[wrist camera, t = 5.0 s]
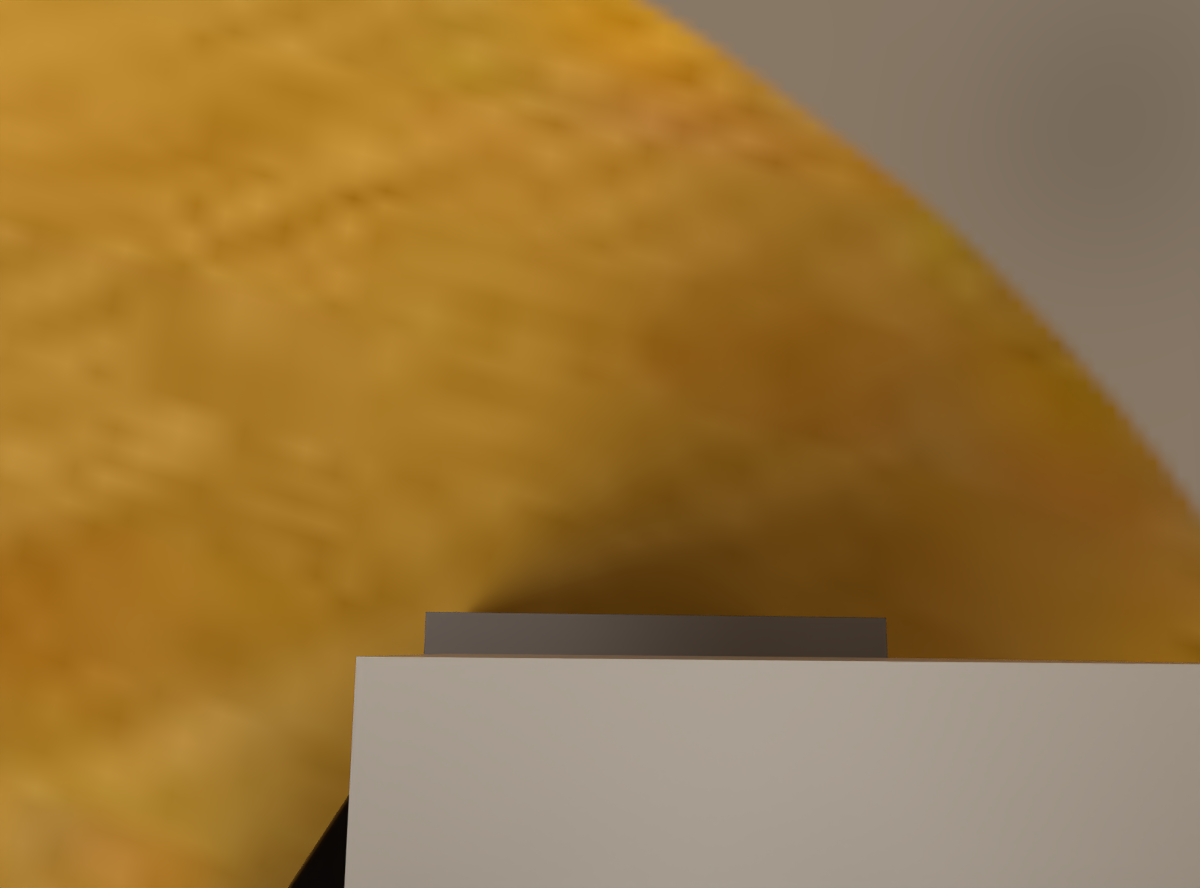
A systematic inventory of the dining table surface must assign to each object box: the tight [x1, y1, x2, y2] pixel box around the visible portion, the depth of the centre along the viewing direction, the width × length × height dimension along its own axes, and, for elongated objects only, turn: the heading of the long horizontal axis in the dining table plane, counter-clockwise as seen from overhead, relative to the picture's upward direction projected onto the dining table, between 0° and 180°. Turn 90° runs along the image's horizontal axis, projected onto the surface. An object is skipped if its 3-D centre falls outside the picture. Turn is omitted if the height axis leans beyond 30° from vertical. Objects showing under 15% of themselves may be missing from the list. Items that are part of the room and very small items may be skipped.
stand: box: [424, 612, 887, 658], centre depth 18 cm, size 6×6×7 cm
